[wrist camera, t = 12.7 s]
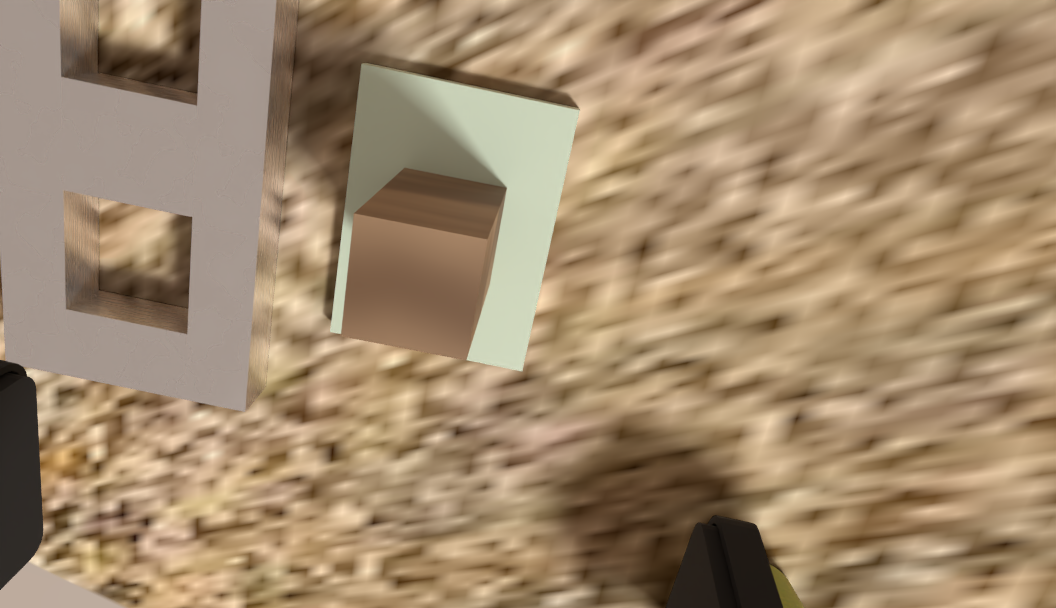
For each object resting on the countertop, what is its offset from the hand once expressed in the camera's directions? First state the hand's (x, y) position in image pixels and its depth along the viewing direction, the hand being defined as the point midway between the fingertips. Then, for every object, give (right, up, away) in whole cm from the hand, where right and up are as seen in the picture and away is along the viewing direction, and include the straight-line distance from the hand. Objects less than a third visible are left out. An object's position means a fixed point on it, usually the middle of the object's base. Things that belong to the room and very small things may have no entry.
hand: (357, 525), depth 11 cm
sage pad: (-1, +7, +23) cm, 24 cm away
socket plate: (-14, +10, +22) cm, 28 cm away
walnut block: (-1, +6, +22) cm, 23 cm away
